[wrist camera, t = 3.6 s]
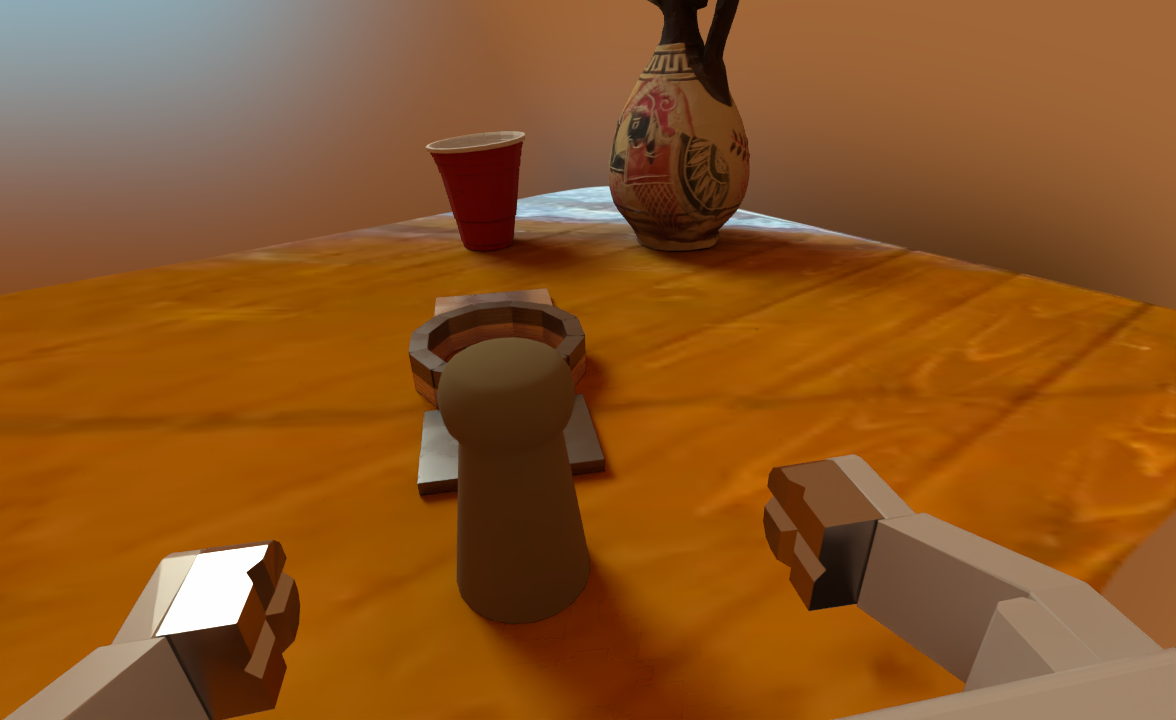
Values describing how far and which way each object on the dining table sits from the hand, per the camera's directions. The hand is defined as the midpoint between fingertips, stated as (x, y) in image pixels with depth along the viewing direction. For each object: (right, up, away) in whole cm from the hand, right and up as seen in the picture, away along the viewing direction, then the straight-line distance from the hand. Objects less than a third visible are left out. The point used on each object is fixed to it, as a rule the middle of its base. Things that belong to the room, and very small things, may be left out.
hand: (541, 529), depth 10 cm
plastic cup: (-11, +16, +61) cm, 64 cm away
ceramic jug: (+11, +16, +60) cm, 63 cm away
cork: (-2, -7, +18) cm, 19 cm away
